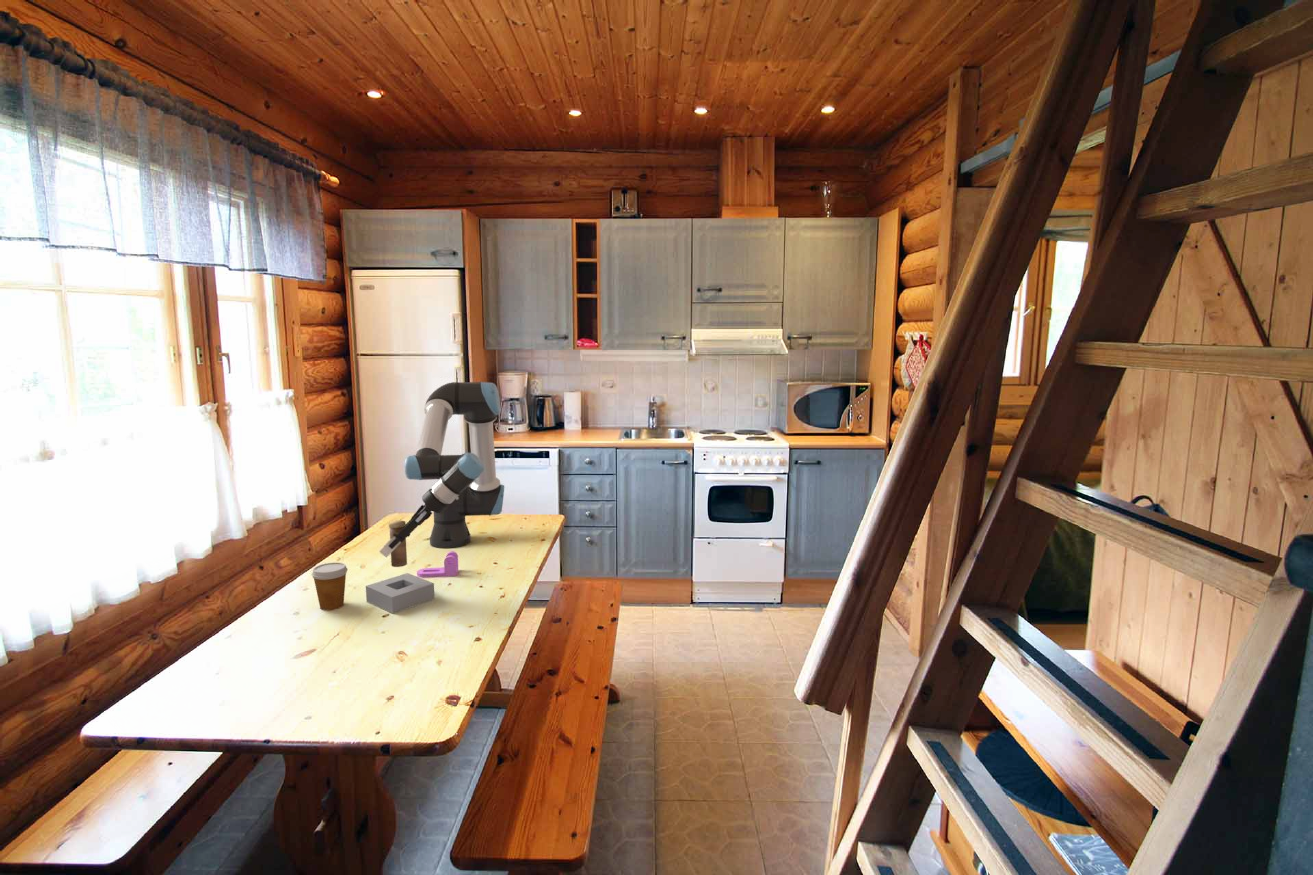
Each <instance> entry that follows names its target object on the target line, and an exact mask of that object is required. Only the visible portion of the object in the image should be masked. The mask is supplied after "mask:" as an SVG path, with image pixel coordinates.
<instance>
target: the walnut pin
mask: <svg viewBox="0 0 1313 875" xmlns="http://www.w3.org/2000/svg"><path fill="white" fill-rule="evenodd" d="M406 523H407V522H406V521H405V520H392V521H390V522H388V528H389V540H391V539H392V538H393V537H394V536H393V534H394V533H395V534H398V533H399V532H400V531H401V530H402V529H403V528H404V527H405V526H406ZM390 562H391V565H390V566H391V567H393V568H402V567H405V566H407V565H408V556H407V537H406V538H405V539H404V541H403V542H401V543H400V544H399V545H398V546H397V547H396V548H395V549H394V550H393V551H392V552H391V553H390Z"/></svg>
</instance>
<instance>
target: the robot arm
mask: <svg viewBox="0 0 1313 875" xmlns="http://www.w3.org/2000/svg"><path fill="white" fill-rule="evenodd" d="M499 394H500V393H499V389H498V387H497V385H496V384H495V383H494V382H487V381H486V382H485V381H478V382H477V381H475V382H474V381H473V382H472V381H471V382H468V381H467V382H465V381H463V382H462V381H459V382H456V381H455V382H454V381H453V382H447V383H445V384H443V385H441V386H439V387H437V388H436V389H435V390H434V391H433V392H432V393H431V394H430V395H429V396H428V398H427V399H426V402H425V404H424V408H423V409H424V410H423V411H424V414H425V418H424V421H423V425H422V429H421V433H420V436H419V440H418V444H417V448H416V452H415V454H413V455H408V456H407V457H405V462H404V474H405V476H406V478H407V479H408V480H414V481H415V480H416V481H423V480H424V481H425V480H426V481H427V480H430V481H432V480H437V481H436V482H435V483H434V484H433V485H432V486H431V488H429V489H428V490H427V491H426V492H425V493H424V494H423V495H422V497H421V500H422V502H423V503H424V504H421V505H420V506H419V507H418V509H417V511H415V513H414V514H413V515H412V516H411V518H410V519H409V520H408V522H405V523H406V526H405V527H404V528H403V529H402V530H401V531H400V532H399V533H398V534H395V533H394V534H393V536H394V537H393V538H392V539H391V540H390V539H389V540H388V541H387V542H386V543H385V544H384V545H383V547H382V548H381V549H380V550H379V553H380V554H381V555H383V556H384V557H385V558H388V557H389V556H390V555H391V552H392V551H393V550H394V549H395V548H396V547H397V546H398V545H399V544H400V543H401V542H403V541H404V539H405V538H406V539H407V538H409V537H410V536H411V533H413V531H415V530H416V529H417V528H418V526H421V525H422V524H423V523H424V522H425V521H427V520H428V519H429V518H430V517H431V516H432V514H433V527H432V530H431V534H430V537H429V545H430V546H431V547H434V548H438V549H450V548H451V549H452V548H458V547H463V546H466V545H468V544H469V543H470V542H471V540H472V539H471V538H472V537H471V533H470V530H469V527H468V524H467V523H466V517H469V516H470V517H471V516H472V517H473V516H489V517H491V516H497V515H500V514H501V513H502V511H503V504H504V503H503V502H504V494H505V484H503V483H502V484H501V481H500V479H499V478H498V477H497V475H496V473H497V472H496V456H495V455H496V454H495V439H494V438H495V437H494V422H495V421H496V420H497V418H498V416H499V415H500V414H501V412H502V411H501V410H502V409H501V407H502V406H501V399H500V395H499ZM455 415H457V416H460V415H461V416H462V415H463V418H464V421H465V422H466V423H467V424H468V428H469V430H468V431H469V445H470V452H464V453H461V454H443V455H442V452H443V446H444V442H445V437H446V433H447V428H448V423H449V420H451V419H452V417H453V416H455Z"/></svg>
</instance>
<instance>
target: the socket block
mask: <svg viewBox="0 0 1313 875" xmlns="http://www.w3.org/2000/svg"><path fill="white" fill-rule="evenodd" d="M365 595H366V596H365V598H366V603H368V604H370V605H373V606H375V607H377V608H380V609H381V610H384V611H385V612H388V613H391V614H393V615H394V614H396V613H399V612H401V611H402V612H403V611H404V610H407V609H410V608H414V607H417V606H418V605H421V604H424V603H427V602H430V601H432V600H435V599H436V597H435V595H436V594H435V583H434V582H432V581H429V580H426V579H424V578H422V577H418V576H416V575H414V574H412V573H408V572H406V573H404V574H400V575H396V576H394V577H391V578H388V579H384V580H380V581H378V582H374V583H371V584H368V585H365Z"/></svg>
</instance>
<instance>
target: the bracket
mask: <svg viewBox="0 0 1313 875" xmlns="http://www.w3.org/2000/svg"><path fill="white" fill-rule="evenodd" d="M458 572H459V555H458V553H457V552H456V551H449V552H448V553H447V554H446V557H445V558H444V561H443V567H424V568H420V569H418V570H417V571H416V575H417V577H419V578H422V579H424V578H443V577H445V578H446V577H457V575H458Z"/></svg>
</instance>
